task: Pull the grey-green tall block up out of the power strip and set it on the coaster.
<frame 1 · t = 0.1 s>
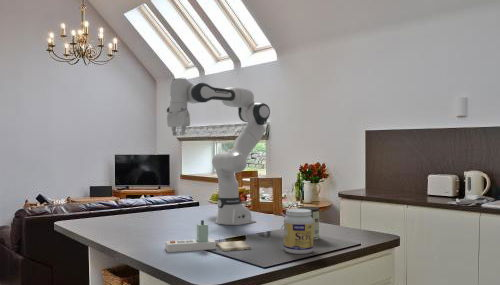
hand: (178, 135, 238), 48 cm above the kitchen island, fingers open, 8 cm apart
grey-green tall block: (202, 247, 194), resting in power strip
supplement tub: (298, 251, 190), on the kitchen island
lily: (288, 230, 237), on the kitchen island
coffee can: (308, 238, 217), on the kitchen island
coaster: (233, 246, 196), on the kitchen island
power strip: (190, 248, 193), on the kitchen island
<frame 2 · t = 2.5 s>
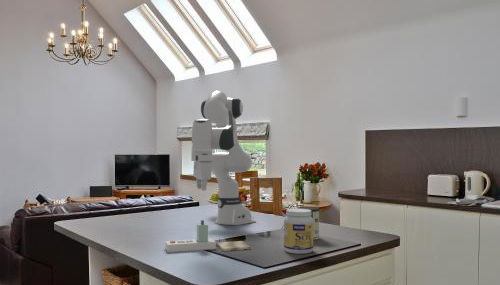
hand: (201, 189, 195), 25 cm above the kitchen island, fingers open, 8 cm apart
nothing on the kitchen island moved.
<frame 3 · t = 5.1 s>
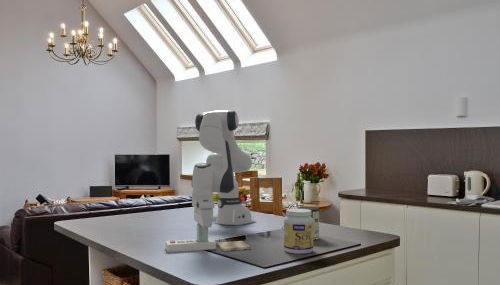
hand: (202, 234, 194), 6 cm above the kitchen island, fingers closed on grey-green tall block, 4 cm apart
grey-green tall block: (202, 247, 194), resting in power strip, touching gripper
everything else where it was.
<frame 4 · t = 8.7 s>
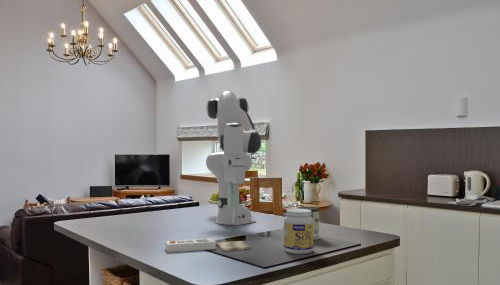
hand: (233, 193, 196), 23 cm above the kitchen island, fingers closed on grey-green tall block, 4 cm apart
grey-green tall block: (233, 206, 196), point 17 cm above the kitchen island, touching gripper
everything else where it was.
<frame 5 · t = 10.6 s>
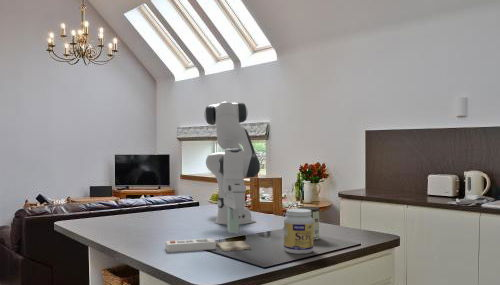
hand: (233, 218, 196), 12 cm above the kitchen island, fingers closed on grey-green tall block, 4 cm apart
grey-green tall block: (233, 231, 196), point 7 cm above the kitchen island, touching gripper
when the fingers open (8 cm above the kitchen island, at t = 12.2 s): grey-green tall block drops 1 cm, resting on coaster.
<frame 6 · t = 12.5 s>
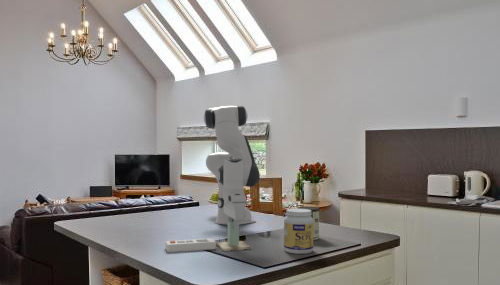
hand: (233, 228, 196), 8 cm above the kitchen island, fingers open, 6 cm apart
grey-green tall block: (233, 244, 196), point 1 cm above the kitchen island, touching coaster
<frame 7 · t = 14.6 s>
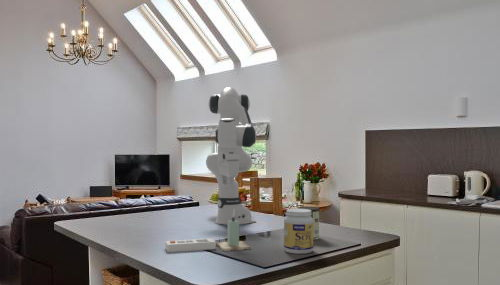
hand: (227, 185, 204), 25 cm above the kitchen island, fingers open, 8 cm apart
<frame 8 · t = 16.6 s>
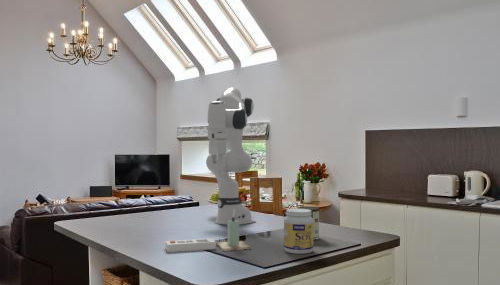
hand: (216, 164, 216), 34 cm above the kitchen island, fingers open, 8 cm apart
at the end: grey-green tall block inside the target area on the coaster (0.1 cm from its centre), point 1.0 cm above the coaster's base; grey-green tall block tilted 0°; the gripper is holding nothing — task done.
